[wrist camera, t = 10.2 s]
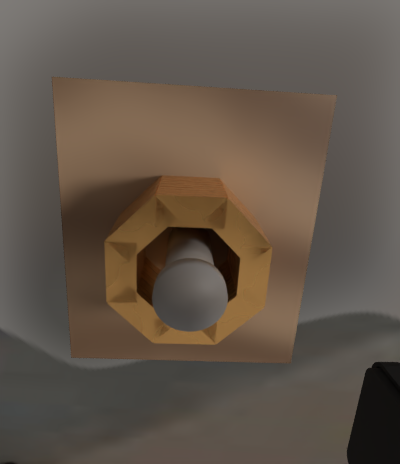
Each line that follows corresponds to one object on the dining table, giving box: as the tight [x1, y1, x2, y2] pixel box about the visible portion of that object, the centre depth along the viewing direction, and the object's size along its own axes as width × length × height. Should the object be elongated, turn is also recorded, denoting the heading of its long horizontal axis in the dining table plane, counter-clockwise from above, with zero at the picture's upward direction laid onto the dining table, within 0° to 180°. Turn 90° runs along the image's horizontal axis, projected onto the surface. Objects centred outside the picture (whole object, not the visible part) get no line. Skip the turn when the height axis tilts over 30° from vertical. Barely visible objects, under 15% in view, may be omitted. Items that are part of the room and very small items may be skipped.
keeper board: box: [52, 77, 337, 363], centre depth 16 cm, size 14×12×6 cm
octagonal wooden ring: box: [104, 175, 272, 345], centre depth 16 cm, size 6×6×4 cm
